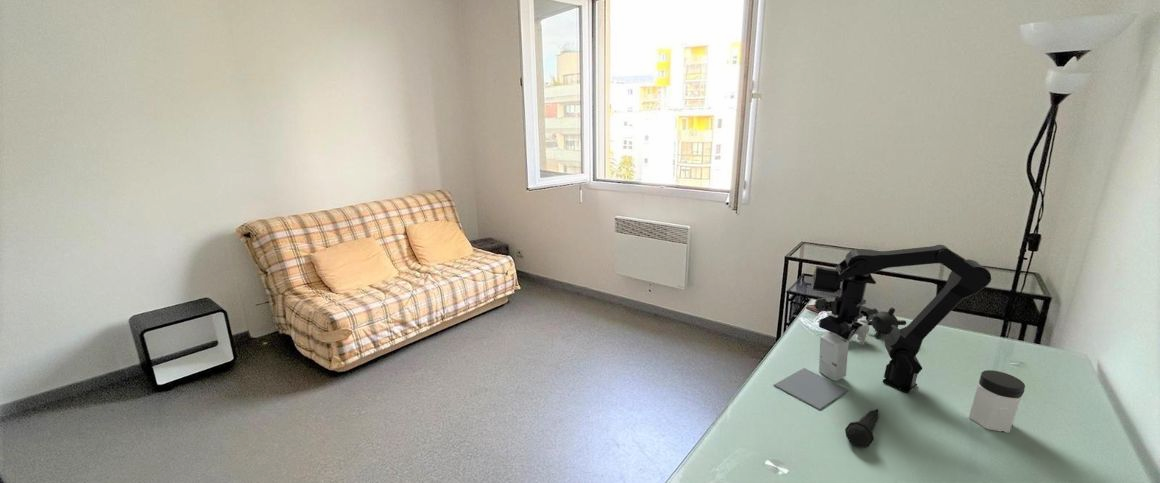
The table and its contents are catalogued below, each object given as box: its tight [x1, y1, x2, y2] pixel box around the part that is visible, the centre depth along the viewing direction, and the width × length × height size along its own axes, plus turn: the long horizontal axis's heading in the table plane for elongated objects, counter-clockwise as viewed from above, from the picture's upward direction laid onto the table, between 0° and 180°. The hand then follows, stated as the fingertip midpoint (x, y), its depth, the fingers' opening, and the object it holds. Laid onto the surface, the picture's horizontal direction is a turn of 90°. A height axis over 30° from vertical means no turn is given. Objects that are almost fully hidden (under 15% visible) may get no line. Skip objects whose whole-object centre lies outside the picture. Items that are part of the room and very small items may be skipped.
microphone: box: [845, 408, 880, 448], centre depth 115 cm, size 6×6×20 cm
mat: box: [773, 367, 850, 411], centre depth 131 cm, size 13×15×1 cm
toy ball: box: [867, 307, 907, 339], centre depth 161 cm, size 11×11×12 cm
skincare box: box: [818, 331, 850, 382], centre depth 135 cm, size 6×4×12 cm
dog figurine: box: [826, 311, 870, 345], centre depth 158 cm, size 5×13×11 cm, turn 75°
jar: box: [968, 369, 1026, 433], centre depth 117 cm, size 9×8×12 cm
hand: (841, 345), depth 137 cm, fingers closed
